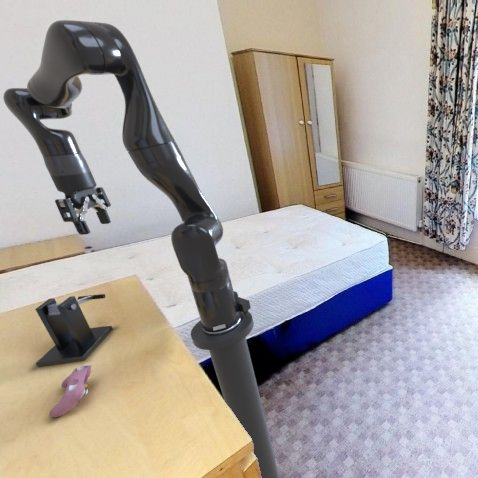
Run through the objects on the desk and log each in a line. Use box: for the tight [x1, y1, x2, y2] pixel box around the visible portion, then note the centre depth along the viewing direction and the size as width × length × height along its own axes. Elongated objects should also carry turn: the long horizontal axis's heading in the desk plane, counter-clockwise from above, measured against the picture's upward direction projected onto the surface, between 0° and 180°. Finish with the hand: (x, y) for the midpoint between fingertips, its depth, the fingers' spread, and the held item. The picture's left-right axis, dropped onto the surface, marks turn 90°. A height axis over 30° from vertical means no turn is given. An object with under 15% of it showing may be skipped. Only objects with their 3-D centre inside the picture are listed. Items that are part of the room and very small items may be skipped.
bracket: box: [34, 295, 114, 368], centre depth 80 cm, size 12×9×14 cm
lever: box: [47, 293, 106, 315], centre depth 83 cm, size 13×6×2 cm, turn 16°
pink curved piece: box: [49, 364, 92, 418], centre depth 68 cm, size 10×5×7 cm, turn 34°
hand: (96, 228), depth 91 cm, fingers open, 8 cm apart
